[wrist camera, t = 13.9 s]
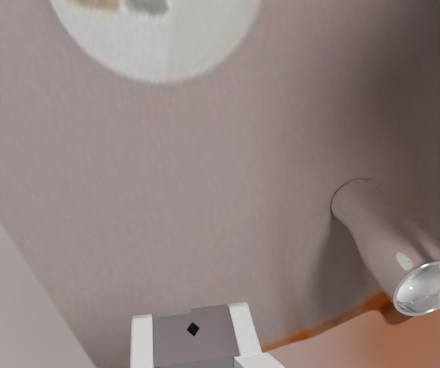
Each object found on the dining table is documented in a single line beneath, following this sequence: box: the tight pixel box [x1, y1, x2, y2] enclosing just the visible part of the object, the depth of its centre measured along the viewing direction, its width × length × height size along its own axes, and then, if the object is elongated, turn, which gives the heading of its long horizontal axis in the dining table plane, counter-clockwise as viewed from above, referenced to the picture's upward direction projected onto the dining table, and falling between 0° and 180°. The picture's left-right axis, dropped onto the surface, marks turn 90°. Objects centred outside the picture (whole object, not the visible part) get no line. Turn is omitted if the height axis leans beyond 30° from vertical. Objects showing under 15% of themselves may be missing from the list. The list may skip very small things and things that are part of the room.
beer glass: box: [331, 179, 440, 316], centre depth 43 cm, size 7×7×15 cm
